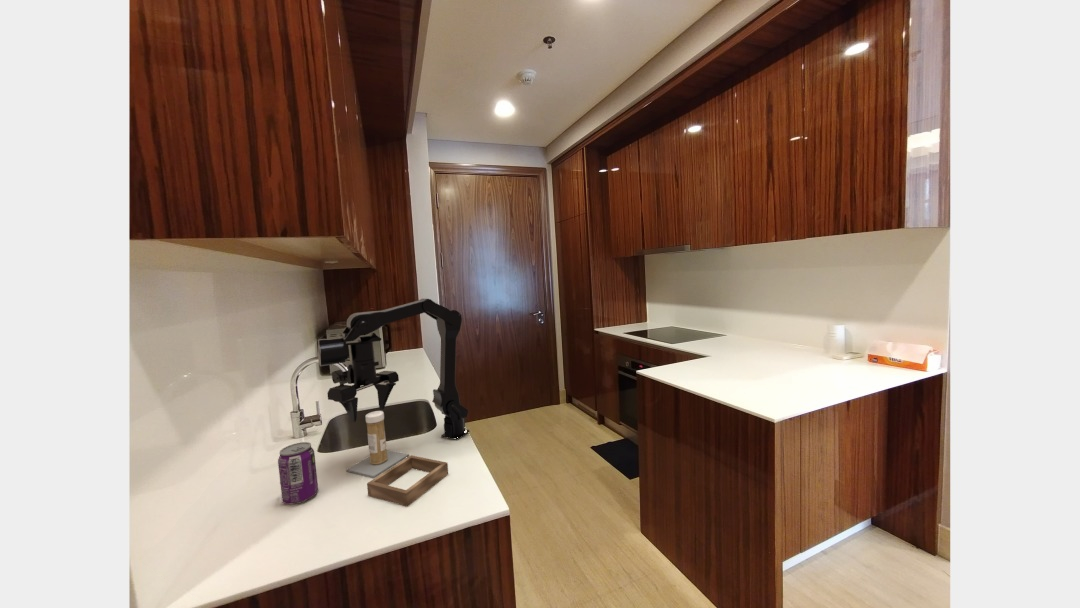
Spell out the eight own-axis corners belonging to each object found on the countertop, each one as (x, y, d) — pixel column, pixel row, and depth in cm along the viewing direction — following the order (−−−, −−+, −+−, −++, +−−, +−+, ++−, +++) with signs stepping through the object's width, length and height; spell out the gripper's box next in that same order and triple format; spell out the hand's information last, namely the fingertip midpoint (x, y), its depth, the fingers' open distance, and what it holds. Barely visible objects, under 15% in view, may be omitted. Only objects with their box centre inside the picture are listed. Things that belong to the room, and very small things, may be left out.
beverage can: (325, 490, 89) (320, 442, 88) (299, 508, 82) (293, 456, 82) (302, 487, 91) (297, 440, 90) (274, 504, 84) (269, 454, 83)
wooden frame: (412, 466, 99) (411, 455, 98) (448, 473, 94) (447, 462, 93) (368, 495, 86) (366, 483, 86) (407, 506, 81) (406, 493, 81)
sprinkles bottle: (390, 460, 101) (386, 412, 100) (373, 467, 98) (368, 417, 97) (384, 455, 104) (379, 408, 103) (367, 461, 101) (362, 413, 100)
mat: (382, 450, 109) (382, 448, 108) (408, 456, 104) (408, 454, 104) (346, 471, 98) (346, 469, 98) (373, 478, 94) (373, 476, 93)
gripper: (370, 351, 112) (374, 401, 113) (310, 366, 95) (316, 425, 96) (397, 352, 107) (402, 405, 109) (340, 368, 90) (346, 430, 92)
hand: (368, 415), depth 101 cm, fingers open, 9 cm apart
